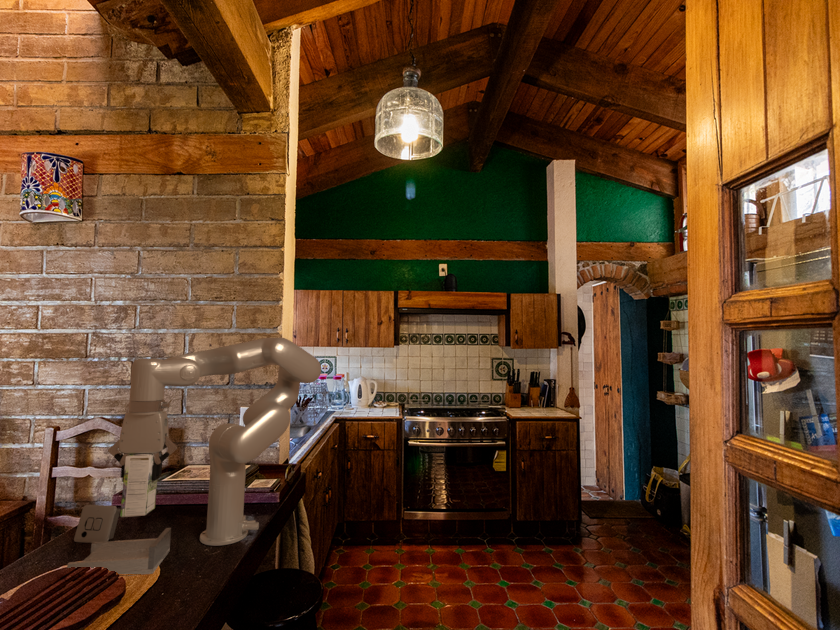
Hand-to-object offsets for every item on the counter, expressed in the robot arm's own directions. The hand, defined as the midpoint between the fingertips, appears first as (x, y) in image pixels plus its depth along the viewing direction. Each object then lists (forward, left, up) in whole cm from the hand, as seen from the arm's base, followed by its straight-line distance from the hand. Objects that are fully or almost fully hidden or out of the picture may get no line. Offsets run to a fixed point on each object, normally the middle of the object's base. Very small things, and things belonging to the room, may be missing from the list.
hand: (141, 479), depth 110 cm
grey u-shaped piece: (+3, 0, -20) cm, 21 cm away
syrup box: (0, +1, -8) cm, 8 cm away
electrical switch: (+16, -17, -21) cm, 31 cm away
